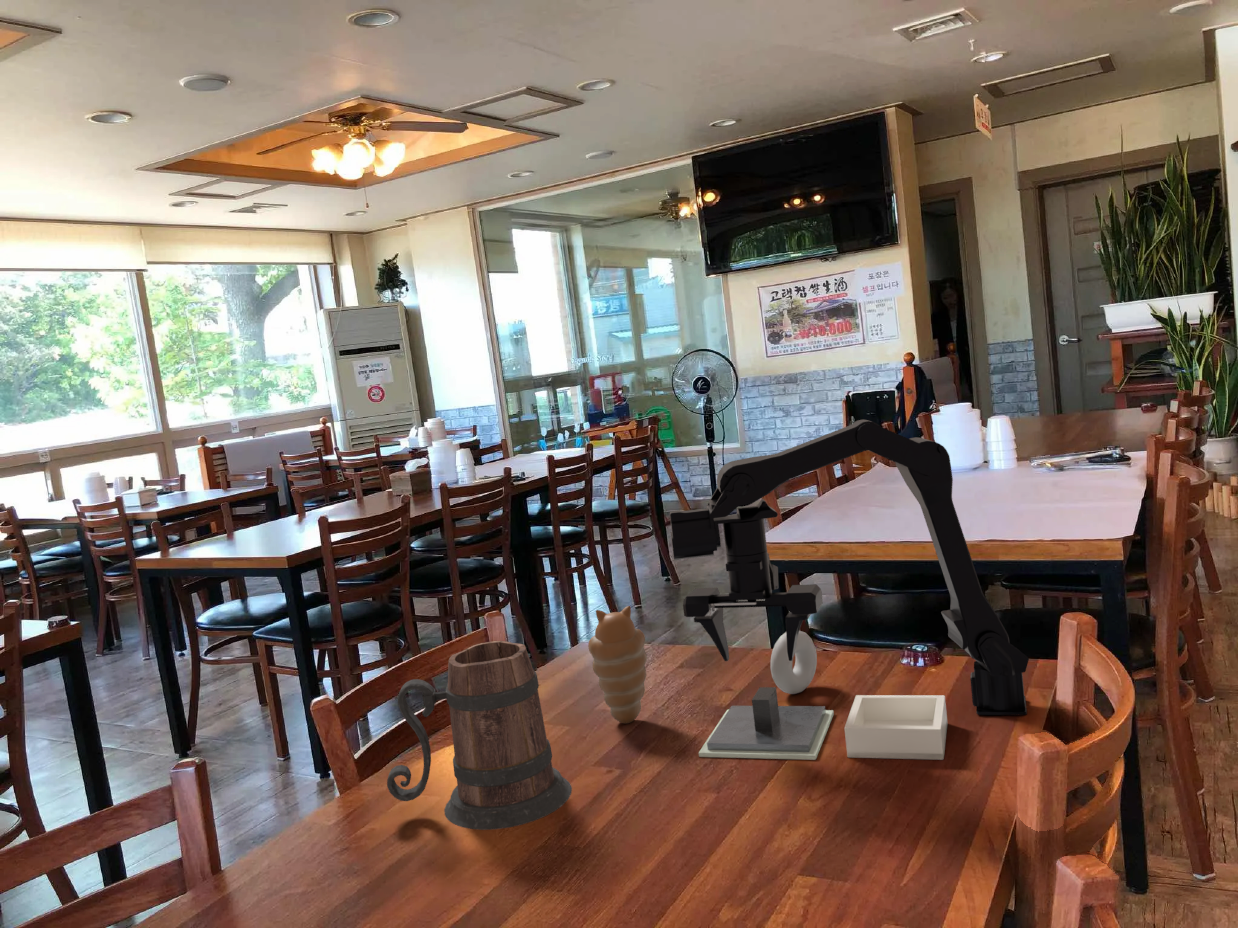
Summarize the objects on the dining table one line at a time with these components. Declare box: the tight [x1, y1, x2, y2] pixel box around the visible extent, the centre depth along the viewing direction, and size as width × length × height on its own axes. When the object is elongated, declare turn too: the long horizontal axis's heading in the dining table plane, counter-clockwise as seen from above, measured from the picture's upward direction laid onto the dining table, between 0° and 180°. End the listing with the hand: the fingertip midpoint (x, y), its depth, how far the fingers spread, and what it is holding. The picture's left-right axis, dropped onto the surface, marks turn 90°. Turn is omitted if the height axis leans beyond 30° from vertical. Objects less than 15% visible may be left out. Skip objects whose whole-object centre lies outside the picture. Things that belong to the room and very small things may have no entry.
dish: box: [844, 694, 949, 761], centre depth 133 cm, size 12×12×4 cm
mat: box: [698, 708, 835, 761], centre depth 140 cm, size 16×16×1 cm
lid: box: [707, 686, 826, 752], centre depth 140 cm, size 14×14×6 cm
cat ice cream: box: [587, 605, 648, 724], centre depth 151 cm, size 9×8×18 cm
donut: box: [770, 630, 818, 695], centre depth 155 cm, size 10×3×10 cm, turn 135°
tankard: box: [386, 640, 573, 831], centre depth 129 cm, size 24×17×20 cm
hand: (758, 660), depth 139 cm, fingers open, 9 cm apart
